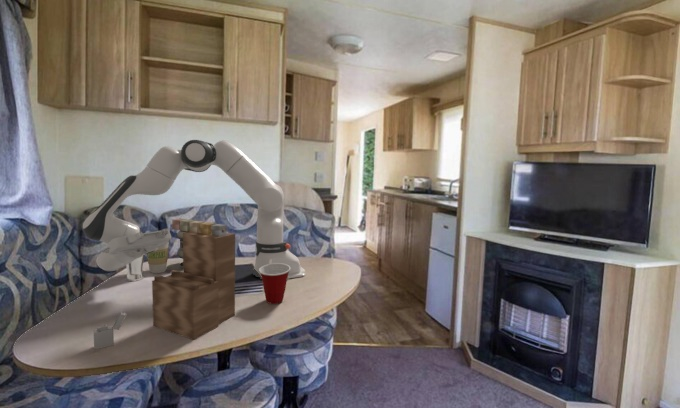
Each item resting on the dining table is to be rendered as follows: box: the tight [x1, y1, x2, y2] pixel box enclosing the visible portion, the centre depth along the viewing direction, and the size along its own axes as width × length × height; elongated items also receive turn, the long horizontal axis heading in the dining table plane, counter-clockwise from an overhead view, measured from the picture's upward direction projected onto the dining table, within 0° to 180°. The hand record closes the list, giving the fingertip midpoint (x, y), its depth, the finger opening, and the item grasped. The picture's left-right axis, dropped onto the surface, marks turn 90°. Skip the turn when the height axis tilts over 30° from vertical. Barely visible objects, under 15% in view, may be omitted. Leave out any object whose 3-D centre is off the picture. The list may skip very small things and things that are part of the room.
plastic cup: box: [259, 263, 290, 305], centre depth 123 cm, size 11×11×12 cm
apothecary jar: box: [176, 230, 190, 268], centre depth 161 cm, size 12×12×18 cm
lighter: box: [93, 311, 127, 350], centre depth 91 cm, size 7×2×8 cm, turn 126°
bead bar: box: [171, 218, 228, 237], centre depth 108 cm, size 20×3×3 cm, turn 65°
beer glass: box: [125, 255, 145, 282], centre depth 139 cm, size 7×7×15 cm
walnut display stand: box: [151, 232, 236, 341], centre depth 104 cm, size 16×17×26 cm
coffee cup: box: [146, 240, 171, 274], centre depth 150 cm, size 10×10×15 cm
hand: (154, 232), depth 117 cm, fingers open, 8 cm apart
